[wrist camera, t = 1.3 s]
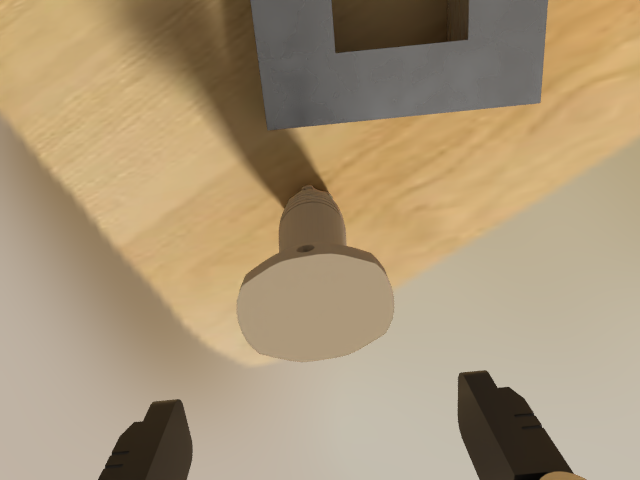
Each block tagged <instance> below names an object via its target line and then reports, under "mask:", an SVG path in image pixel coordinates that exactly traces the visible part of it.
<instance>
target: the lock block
mask: <svg viewBox="0 0 640 480" xmlns="http://www.w3.org/2000/svg"><path fill="white" fill-rule="evenodd" d="M250 1H251V9H252V17H253V24H254V32H255V39H256V47H257V54H258V62H259V69H260V77H261V85H262V92H263V100H264V107H265V115H266V122H267V130H277V129H287V128H297V127H307V126H317V125H326V124H336V123H346V122H356V121H366V120H376V119H386V118H396V117H406V116H416V115H426V114H436V113H446V112H456V111H466V110H476V109H486V108H496V107H506V106H516V105H526V104H536V103H540V101H541V87H542V74H543V60H544V47H545V33H546V20H547V6H548V0H448V7H447V42H442V43H432V44H422V45H412V46H402V47H392V48H382V49H372V50H362V51H352V52H343V53H335V41H334V28H333V15H332V2H331V0H250Z"/></svg>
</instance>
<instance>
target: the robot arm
mask: <svg viewBox="0 0 640 480" xmlns="http://www.w3.org/2000/svg"><path fill="white" fill-rule="evenodd" d="M458 423H459V429H460V433H461V436H462V439H463V441H464V444H465V446H466V449H467V451H468V453H469V456H470V458H471V460H472V463H473V465H474V468H475V470H476V472H477V475H478V477H479V479H480V480H586V479H585V478H582V477H580V476H578V475H575V474H574V473H573V472H572V470H571V469H570V467H569V466H568V464H567V463H566V461H565V460H564V458H563V457H562V455H561V454H560V452H559V451H558V449H557V447H556V446H555V444H554V443H553V441H552V440H551V438H550V437H549V435H548V434H547V432H546V431H545V429H544V428H542V425H541V423H540V422H539V420H538V419H537V417H536V416H534V413H533V411H532V410H531V408H530V407H529V405H528V404H527V402H526V401H525V399H524V398H523V397H521V396H520V395H518V394H517V393H516V392H515V391H513V390H512V389H511V388H509V387H504V388H497V386H496V384H495V383H494V381H493V379H492V378H491V376H490V374H489V373H488V372H487V371H485V370H484V371H474V372H463V373H460V374H459V377H458ZM191 461H192V440H191V435H190V431H189V427H188V423H187V419H186V415H185V411H184V407H183V403H182V402H181V400H179V399H177V400H167V401H156V402H153V403H152V404H151V405H150V407H149V410H148V412H147V414H146V416H145V418H144V421H142V422H134V423H133V424H132V425H131V426H130V427H129V428H128V429H127V430H126V431H125V432H124V433H123V434H122V435H121V436H120V437H119V439H118V441H117V443H116V445H115V447H114V449H113V451H112V456H110V457H109V459H108V461H107V463H106V465H105V469H103V471H102V473H101V475H100V477H99V479H98V480H187V476H188V473H189V469H190V466H191Z"/></svg>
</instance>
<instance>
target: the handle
mask: <svg viewBox="0 0 640 480" xmlns="http://www.w3.org/2000/svg"><path fill="white" fill-rule="evenodd" d="M393 313H394V296H393V292H392V287H391V284H390V282H389V279H388V277H387V275H386V272H385V270H384V268H383V266H382V265H381V264H380V262H379V261H378V260H377V259H376V258H375V257H374V256H373V255H372V254H371V253H369V252H366V251H363V250H359V249H356V248H352V247H348V246H346V229H345V224H344V220H343V217H342V214H341V212H340V210H339V208H338V206H337V204H336V203H335V202H334V200H333V198H332V196H331V194H330V193H329V192H327V191H325V192H324V191H320V190H317V189H315V188H314V187H313V186H312V185H306V186H303V187H302V189H301V191H300V192H299V193H297V194H295V195H294V196H293V197H291V198H290V199H289V200H288V203H287V205H286V207H285V209H284V211H283V214H282V217H281V221H280V226H279V253H278V254H276V255H274V256H272V257H270V258H269V259H267V260H266V261H264V262H263V263H261V264H260V265H258V266H257V267H255V268H254V269H253V270H251V271H250V272H249V273H247V274H246V276H245V278H244V280H243V283H242V285H241V288H240V292H239V296H238V299H237V317H238V323H239V326H240V328H241V331H242V334H243V335H244V337H245V339H246V341H247V342H248V343H249V344H250V345H251V347H252V348H253V349H255V350H256V351H257V352H258V353H259V354H262V355H266V356H271V357H275V358H280V359H284V360H289V361H297V362H309V361H318V360H324V359H331V358H337V357H341V356H345V355H348V354H351V353H353V352H355V351H357V350H359V349H361V348H363V347H364V346H366V345H368V344H369V343H371V342H372V341H374V340H376V339H378V338H379V337H381V336H382V335H384V334H385V333H386V332H387V330H388V328H389V326H390V324H391V321H392V319H393Z"/></svg>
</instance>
